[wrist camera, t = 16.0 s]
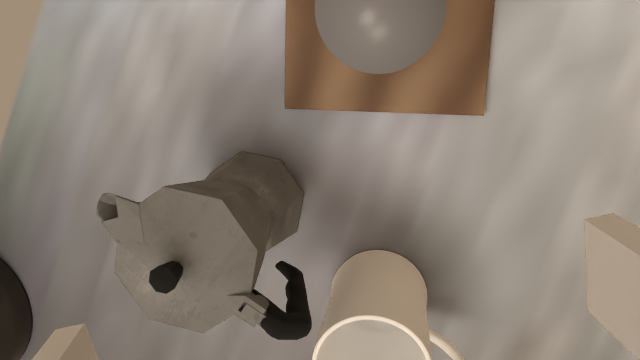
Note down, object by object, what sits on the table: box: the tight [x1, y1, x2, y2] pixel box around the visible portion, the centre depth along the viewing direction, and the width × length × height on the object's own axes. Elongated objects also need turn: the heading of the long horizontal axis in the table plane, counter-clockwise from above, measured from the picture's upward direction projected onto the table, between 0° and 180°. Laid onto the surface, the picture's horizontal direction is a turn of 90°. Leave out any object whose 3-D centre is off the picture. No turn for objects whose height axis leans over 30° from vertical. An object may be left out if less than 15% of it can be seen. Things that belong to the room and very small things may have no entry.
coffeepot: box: [97, 152, 312, 340], centre depth 35 cm, size 15×9×18 cm, turn 58°
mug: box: [312, 250, 465, 360], centre depth 38 cm, size 12×8×12 cm
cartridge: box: [315, 0, 447, 74], centre depth 30 cm, size 6×6×17 cm
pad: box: [285, 0, 495, 116], centre depth 39 cm, size 16×12×1 cm
